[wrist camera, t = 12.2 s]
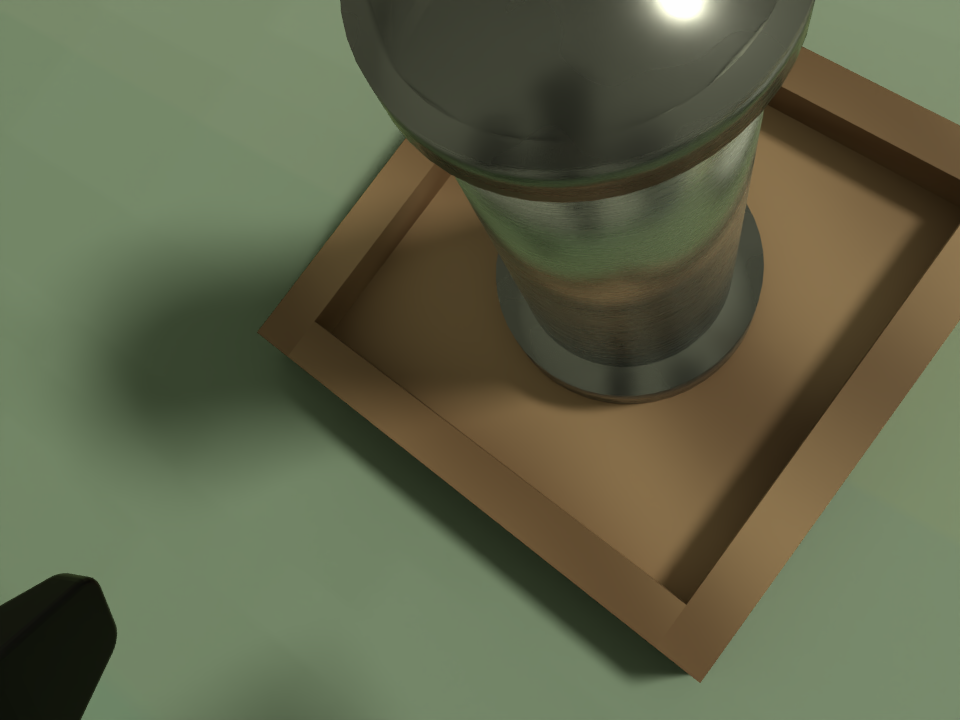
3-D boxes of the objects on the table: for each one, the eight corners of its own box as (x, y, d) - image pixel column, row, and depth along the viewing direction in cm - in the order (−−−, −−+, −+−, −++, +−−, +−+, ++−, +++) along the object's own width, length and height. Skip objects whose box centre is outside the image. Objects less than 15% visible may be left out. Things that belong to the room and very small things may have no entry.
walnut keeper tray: (698, 674, 18) (700, 682, 16) (283, 346, 21) (257, 332, 20) (1034, 205, 18) (1062, 176, 17) (573, -33, 22) (566, -72, 21)
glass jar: (548, 439, 19) (389, 281, 9) (474, 216, 21) (263, -148, 10) (800, 352, 18) (966, 62, 8) (704, 128, 20) (731, -363, 9)
